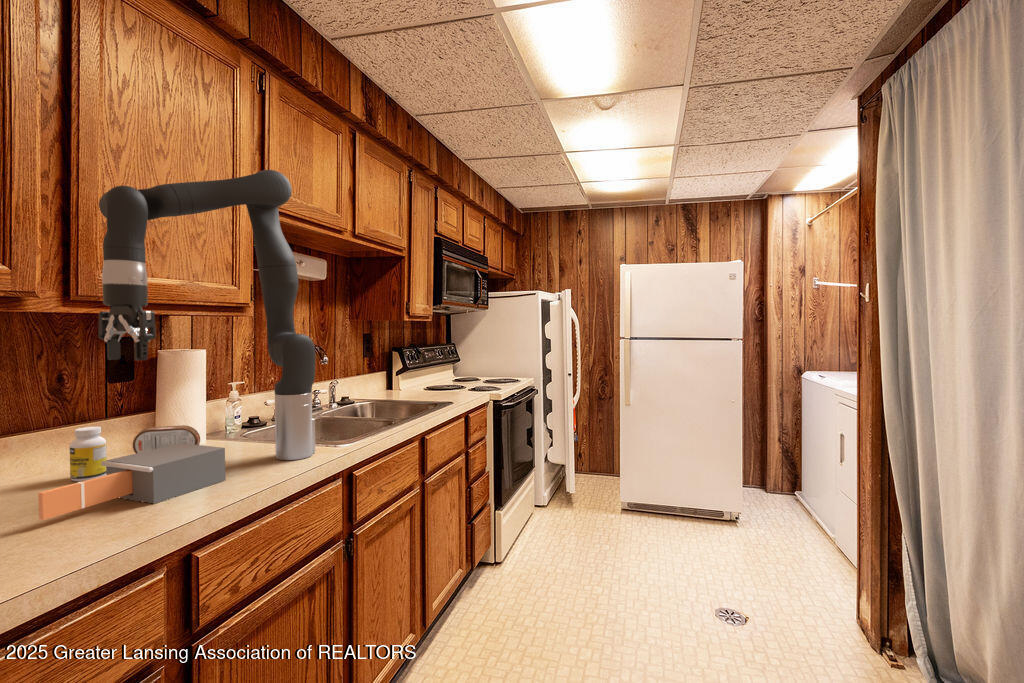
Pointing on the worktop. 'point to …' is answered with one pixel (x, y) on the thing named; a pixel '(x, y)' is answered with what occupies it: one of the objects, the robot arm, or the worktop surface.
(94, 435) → the pill bottle
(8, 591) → the worktop surface
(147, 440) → the tin
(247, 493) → the worktop surface
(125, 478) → the ticket
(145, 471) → the dispenser
